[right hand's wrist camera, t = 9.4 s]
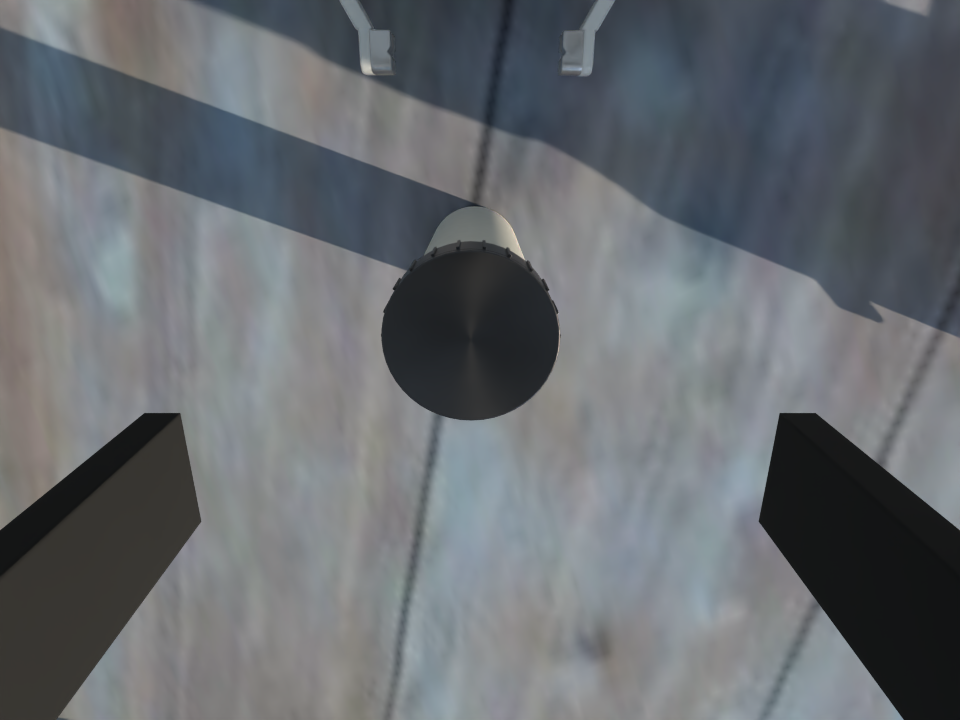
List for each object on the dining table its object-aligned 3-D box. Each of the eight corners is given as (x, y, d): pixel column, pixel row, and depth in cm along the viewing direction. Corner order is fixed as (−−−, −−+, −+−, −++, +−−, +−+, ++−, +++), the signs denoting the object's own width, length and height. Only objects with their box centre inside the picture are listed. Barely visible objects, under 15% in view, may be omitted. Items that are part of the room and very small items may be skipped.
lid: (404, 409, 24) (398, 432, 22) (373, 251, 22) (363, 262, 20) (561, 389, 24) (569, 411, 22) (545, 227, 21) (552, 235, 20)
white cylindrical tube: (439, 297, 39) (408, 415, 22) (425, 212, 37) (380, 271, 20) (522, 286, 39) (554, 396, 22) (512, 200, 37) (539, 249, 20)
